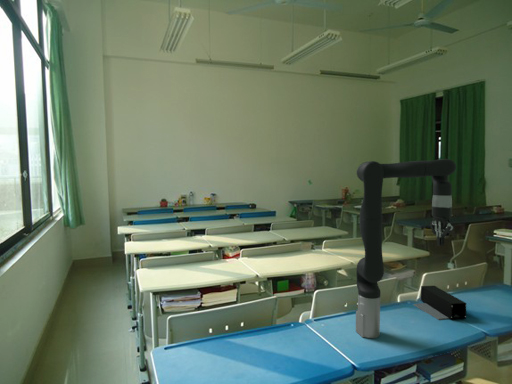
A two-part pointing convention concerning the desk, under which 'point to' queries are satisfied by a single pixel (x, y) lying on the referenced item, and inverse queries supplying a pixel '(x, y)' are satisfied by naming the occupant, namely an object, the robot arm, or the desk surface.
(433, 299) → the black rectangular bar
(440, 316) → the rubber mat
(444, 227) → the robot arm
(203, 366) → the desk surface
